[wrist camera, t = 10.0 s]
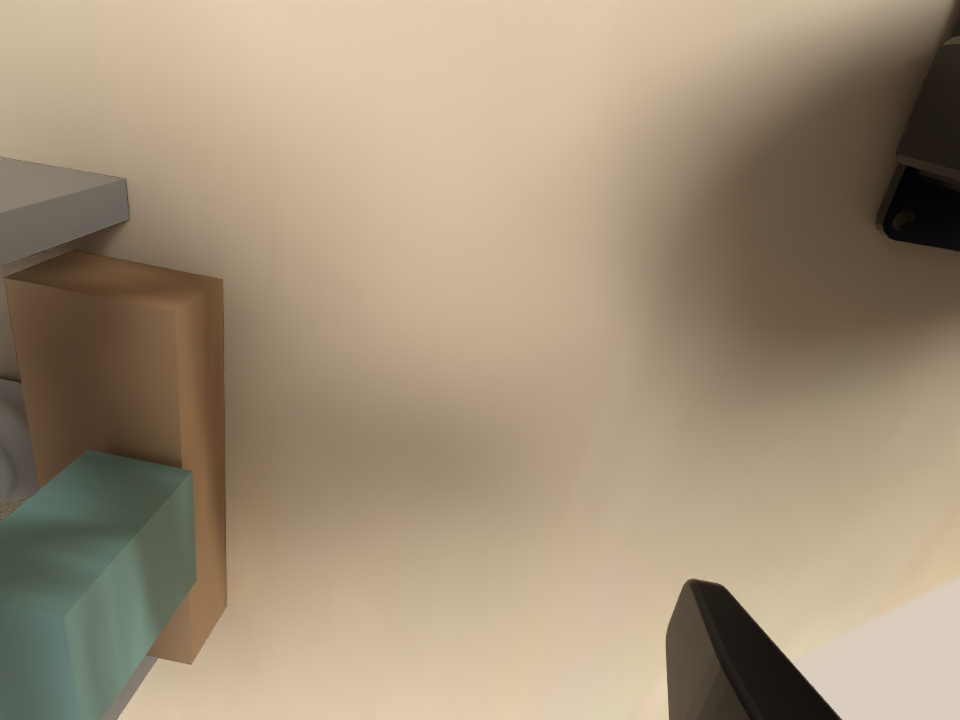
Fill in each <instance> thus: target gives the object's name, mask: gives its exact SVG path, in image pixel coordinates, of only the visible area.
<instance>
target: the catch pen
mask: <svg viewBox="0 0 960 720" xmlns="http://www.w3.org/2000/svg"><path fill="white" fill-rule="evenodd" d="M126 220H129V210H128V199H127V188H126V179H124V178H118V177H112V176H106V175H101V174H95V173H89V172H83V171H78V170H72V169H66V168H60V167H55V166H49V165H43V164H37V163H32V162H26V161H20V160H15V159H9V158H3V157H0V267H1V266H4V265H6V264H9V263H12V262H15V261H17V260H20V259H23V258H25V257H28V256H31V255H34V254H36V253H39V252H42V251H44V250H47V249H50V248H53V247H55V246H58V245H61V244H64V243H66V242H69V241H72V240H74V239H77V238H80V237H83V236H85V235H88V234H91V233H93V232H96V231H99V230H102V229H104V228H107V227H110V226H112V225H115V224H118V223H121V222H123V221H126ZM157 659H158V658H157V657H152V656H147V655H145V657H144V658H143V660H142V661H141V662H140V664H139V665H138V667H137V668H136V670H135V671H134V673H133V674H132V676H131V677H130V678H129V680H128V681H127V683H126V684H125V686H124V687H123V689H122V690H121V691H120V693H119V694H118V696H117V697H116V699H115V700H114V702H113V703H112V705H111V706H110V707H109V709H108V710H107V712H106V713H105V715H104V716H103V718H102V719H101V720H117V719H118V717H119V716H120V714H121V713H122V711H123V710H124V708H125V707H126V705H127V704H128V702H129V701H130V699H131V698H132V696H133V695H134V693H135V692H136V690H137V689H138V687H139V686H140V684H141V683H142V681H143V680H144V678H145V677H146V675H147V674H148V672H149V671H150V669H151V668H152V666H153V665H154V663H155V662H156V660H157Z"/></svg>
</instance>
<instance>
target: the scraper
mask: <svg viewBox="0 0 960 720" xmlns="http://www.w3.org/2000/svg"><path fill="white" fill-rule="evenodd" d="M4 283H5V289H6V295H7V301H8V307H9V313H10V319H11V325H12V331H13V337H14V343H15V349H16V355H17V361H18V366H19V372H20V378H21V384H22V390H23V396H24V402H25V408H26V414H27V420H28V426H29V432H30V438H31V444H32V450H33V456H34V462H35V468H36V474H37V480H38V486H39V491H37V492H36V493H35V494H34V495H33V496H31V497H30V498H29V499H28V500H27V501H25V502H24V503H23V504H22V505H21V506H19V507H18V508H17V509H16V510H14V511H13V512H12V513H11V514H10V515H8V516H7V517H6V518H5V519H4V520H2V521H1V522H0V720H101V719H102V718H103V716H104V715H105V713H106V712H107V710H108V709H109V707H110V706H111V705H112V703H113V702H114V700H115V699H116V697H117V696H118V694H119V693H120V691H121V690H122V689H123V687H124V686H125V684H126V683H127V681H128V680H129V678H130V677H131V676H132V674H133V673H134V671H135V670H136V668H137V667H138V665H139V664H140V662H141V661H142V660H143V658H144V657H145V655H147V656H152V657H157V658H162V659H166V660H171V661H176V662H181V663H186V664H190V665H191V664H192V663H193V661H194V659H195V658H196V656H197V654H198V653H199V651H200V649H201V648H202V646H203V644H204V643H205V641H206V639H207V638H208V636H209V634H210V633H211V631H212V629H213V628H214V626H215V624H216V623H217V621H218V619H219V618H220V616H221V614H222V613H223V611H224V609H225V608H226V606H227V591H226V500H225V408H224V317H223V279H217V278H212V277H207V276H202V275H197V274H192V273H187V272H182V271H177V270H171V269H166V268H161V267H156V266H151V265H146V264H141V263H136V262H131V261H125V260H120V259H115V258H110V257H105V256H100V255H95V254H90V253H85V252H79V251H74V250H73V251H71V252H68V253H66V254H63V255H60V256H58V257H55V258H53V259H50V260H48V261H45V262H43V263H40V264H38V265H35V266H32V267H30V268H27V269H25V270H22V271H20V272H17V273H15V274H12V275H9V276H7V277H4Z"/></svg>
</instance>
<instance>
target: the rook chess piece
mask: <svg viewBox="0 0 960 720" xmlns="http://www.w3.org/2000/svg"><path fill="white" fill-rule="evenodd" d="M37 491H39V486H38V480H37V474H36V468H35V462H34V456H33V450H32V444H31V438H30V432H29V426H28V420H27V414H26V408H25V402H24V396H23V390H22V384H21V383H20V382H15V381H10V380H4V379H0V505H2V504H3V503H7V502H13V501H19V500H24V499H26V498H28V497H31V496H33V495H34V494H35V493H36V492H37Z"/></svg>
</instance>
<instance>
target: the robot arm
mask: <svg viewBox="0 0 960 720" xmlns="http://www.w3.org/2000/svg"><path fill="white" fill-rule="evenodd" d="M896 154H897V156H898V159H899V164H898V166H897V168H896V171H895V173H894V175H893V178H892V180H891V183H890V185H889V187H888V190H887V192H886V195H885V197H884V199H883V202H882V204H881V207H880V209H879V211H878V214H877V218H876V226H877V229H878V230H879V231H880V233H881V234H883V235H885V236H887V237H888V238H891V239H893V240H897V241H902V242H908V243H914V244H920V245H926V246H932V247H938V248H944V249H949V250H955V251H960V18H959V20H958V22H957V25H956V27H955V30H954V32H953V34H952V37H951V39H949V40H948V41H947V42H945V43H944V44H942V45H941V46H940V47H939V49H938V51H937V54H936V56H935V58H934V61H933V63H932V66H931V68H930V71H929V73H928V75H927V78H926V80H925V83H924V85H923V87H922V90H921V92H920V95H919V97H918V100H917V102H916V104H915V107H914V109H913V112H912V114H911V116H910V119H909V121H908V124H907V126H906V129H905V131H904V133H903V136H902V138H901V141H900V143H899V145H898V148H897V151H896ZM905 211H906V213H907V219H906V221H905V222H904V223H903V224H902V225H901V226H899V227H894V226H893V220H894V218H895V217H896V216H897V215H898V214H899V213H901V212H905ZM666 664H667V685H668V706H669V720H842V719H841V718H840V717H839V716H838V715H837V713H836V712H835V711H834V710H833V709H832V708H831V706H830V705H829V704H828V703H827V702H826V701H825V700H824V699H823V697H822V696H821V695H820V694H819V693H818V692H817V691H816V690H815V689H814V687H813V686H812V685H811V684H810V683H809V682H808V680H807V679H806V678H805V677H804V676H803V675H802V674H801V673H800V671H799V670H798V669H797V668H796V667H795V666H794V665H793V663H792V662H791V661H790V660H789V659H788V658H787V657H786V656H785V654H784V653H783V652H782V651H781V650H780V649H779V648H778V646H777V645H776V644H775V643H774V642H773V641H772V640H771V639H770V637H769V636H768V635H767V634H766V633H765V632H764V631H763V629H762V628H761V627H760V626H759V625H758V624H757V623H756V622H755V620H754V619H753V618H752V617H751V616H750V615H749V614H748V612H747V611H746V610H745V609H744V608H743V607H742V606H741V605H740V603H739V602H738V601H737V600H736V599H735V598H734V597H733V595H732V594H731V593H730V592H729V591H728V590H727V589H726V588H725V587H724V586H722V585H721V584H718V583H713V582H708V581H703V580H698V579H690V580H687V581H686V583H685V584H684V585H683V588H682V590H681V593H680V595H679V598H678V601H677V603H676V606H675V609H674V611H673V614H672V617H671V619H670V622H669V625H668V628H667V633H666Z"/></svg>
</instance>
